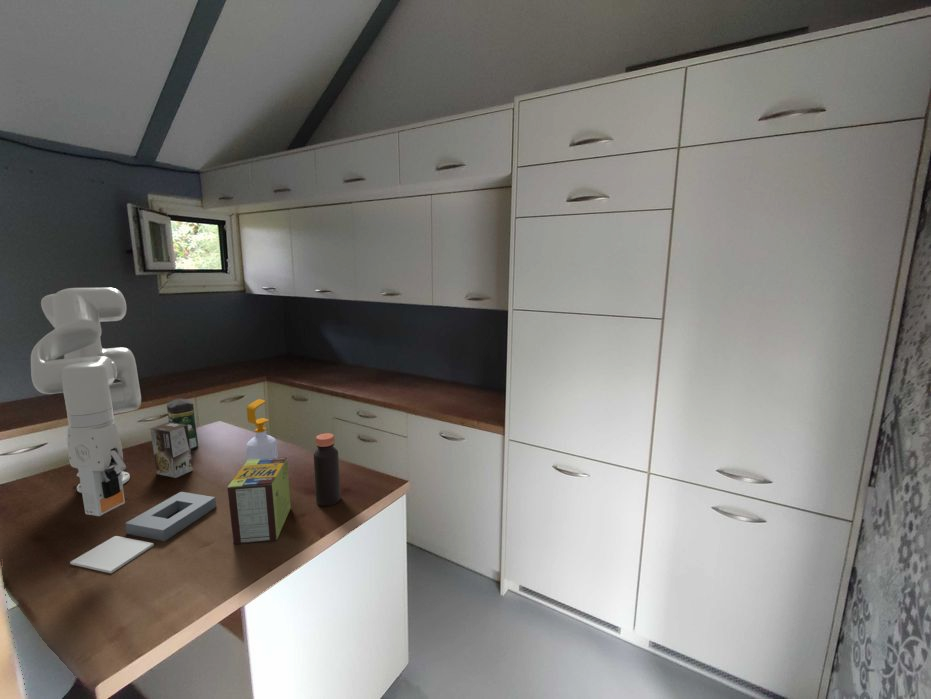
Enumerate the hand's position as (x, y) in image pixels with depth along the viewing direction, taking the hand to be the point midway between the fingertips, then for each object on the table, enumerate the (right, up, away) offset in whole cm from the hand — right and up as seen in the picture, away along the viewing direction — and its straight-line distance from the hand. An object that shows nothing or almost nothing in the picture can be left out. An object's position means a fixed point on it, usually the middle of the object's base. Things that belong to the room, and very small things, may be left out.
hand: (103, 493), depth 96 cm
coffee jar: (-23, -4, +63) cm, 67 cm away
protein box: (+30, -14, +15) cm, 36 cm away
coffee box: (-14, -8, +44) cm, 47 cm away
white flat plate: (0, -16, +3) cm, 16 cm away
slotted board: (+4, -13, +17) cm, 22 cm away
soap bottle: (+15, -8, +45) cm, 48 cm away
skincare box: (0, -4, +1) cm, 4 cm away
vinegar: (+43, -12, +27) cm, 52 cm away
